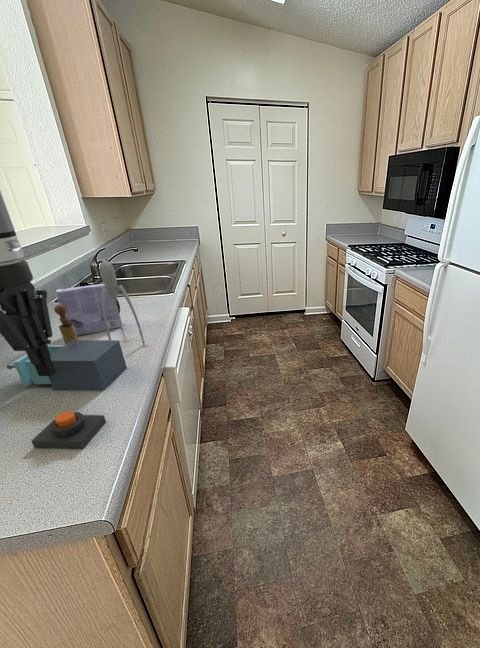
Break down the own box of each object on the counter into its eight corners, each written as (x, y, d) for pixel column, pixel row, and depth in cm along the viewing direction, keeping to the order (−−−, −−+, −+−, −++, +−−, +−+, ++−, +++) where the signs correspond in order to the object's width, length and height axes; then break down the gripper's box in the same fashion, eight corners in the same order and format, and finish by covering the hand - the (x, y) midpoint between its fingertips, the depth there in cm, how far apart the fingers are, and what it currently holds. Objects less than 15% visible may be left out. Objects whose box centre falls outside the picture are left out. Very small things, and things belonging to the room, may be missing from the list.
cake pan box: (124, 322, 137) (112, 280, 129) (126, 326, 133) (114, 283, 125) (69, 333, 128) (54, 289, 120) (70, 338, 124) (53, 292, 116)
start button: (54, 427, 73) (51, 421, 73) (64, 417, 77) (62, 411, 76) (69, 427, 73) (67, 421, 73) (80, 417, 77) (77, 411, 76)
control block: (34, 448, 73) (27, 434, 71) (62, 421, 81) (56, 408, 79) (83, 449, 72) (77, 435, 71) (106, 422, 80) (101, 409, 79)
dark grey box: (53, 390, 93) (41, 360, 89) (81, 367, 104) (72, 340, 100) (104, 390, 93) (94, 360, 88) (127, 367, 104) (119, 340, 100)
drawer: (7, 386, 94) (-5, 362, 90) (37, 365, 104) (27, 343, 100) (70, 386, 93) (61, 362, 90) (94, 366, 103) (86, 343, 100)
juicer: (139, 351, 114) (117, 263, 100) (112, 352, 113) (86, 264, 100) (149, 338, 123) (130, 256, 110) (124, 339, 122) (101, 257, 109)
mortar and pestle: (91, 350, 115) (74, 301, 107) (83, 359, 109) (65, 307, 101) (70, 352, 114) (52, 302, 106) (61, 361, 108) (41, 309, 100)
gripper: (-12, 270, 54) (42, 391, 64) (46, 254, 65) (83, 359, 76) (-56, 271, 54) (5, 391, 64) (9, 255, 66) (52, 359, 76)
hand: (47, 374), depth 70 cm, fingers closed
